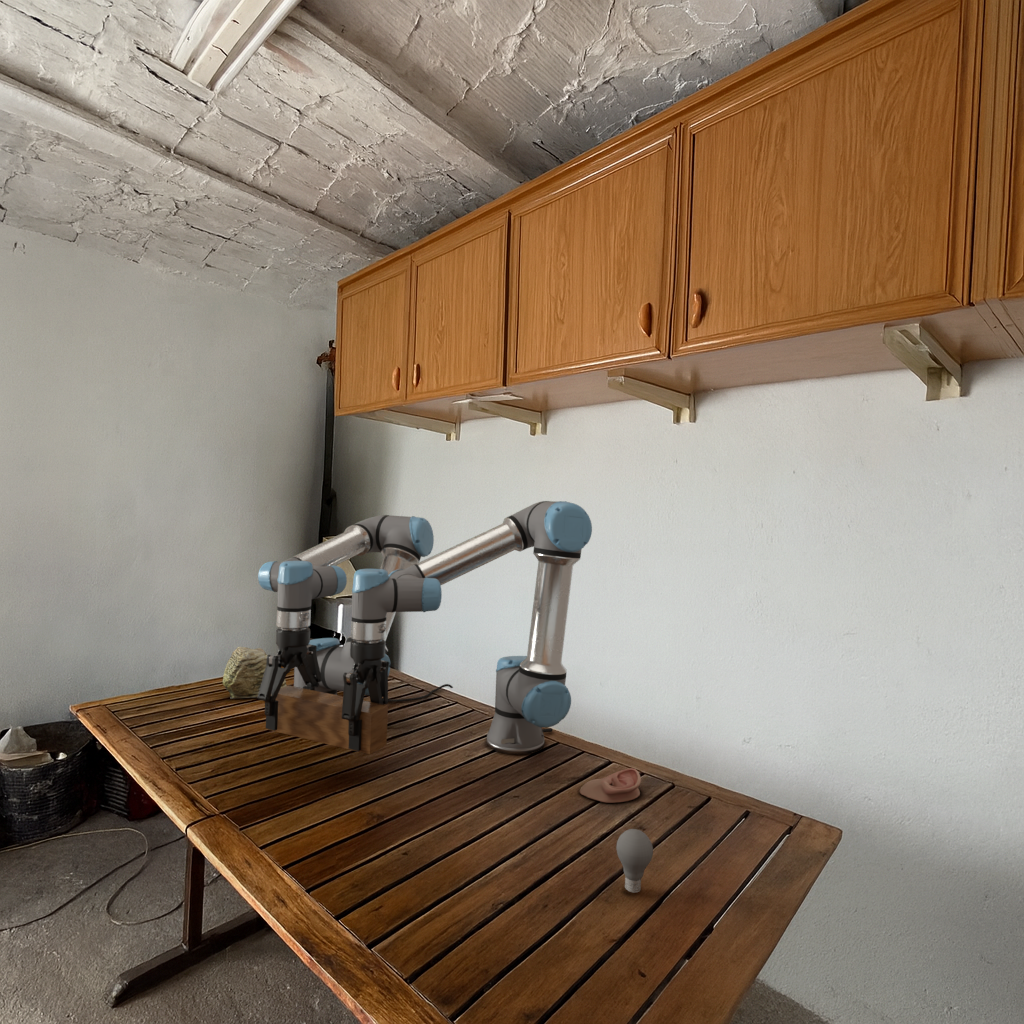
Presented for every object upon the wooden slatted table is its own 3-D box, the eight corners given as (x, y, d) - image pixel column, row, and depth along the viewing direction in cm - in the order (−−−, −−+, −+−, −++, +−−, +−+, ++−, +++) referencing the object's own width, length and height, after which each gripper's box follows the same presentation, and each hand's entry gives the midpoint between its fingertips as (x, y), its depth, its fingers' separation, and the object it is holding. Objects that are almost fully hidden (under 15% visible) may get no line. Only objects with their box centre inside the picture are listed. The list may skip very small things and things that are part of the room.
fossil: (218, 695, 195) (220, 647, 195) (278, 685, 208) (279, 640, 207) (228, 703, 189) (230, 653, 188) (289, 692, 201) (290, 645, 201)
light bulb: (610, 879, 108) (613, 822, 108) (644, 879, 109) (647, 822, 109) (619, 902, 102) (622, 840, 102) (655, 901, 103) (658, 840, 103)
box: (267, 729, 147) (269, 691, 147) (287, 721, 152) (288, 685, 152) (369, 754, 135) (371, 713, 135) (386, 744, 141) (388, 705, 141)
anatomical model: (578, 780, 137) (583, 760, 149) (577, 799, 137) (582, 776, 149) (641, 789, 135) (641, 767, 146) (640, 807, 135) (640, 784, 146)
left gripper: (267, 638, 135) (264, 740, 136) (339, 621, 157) (335, 709, 157) (241, 634, 138) (238, 734, 139) (315, 618, 160) (311, 704, 160)
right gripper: (354, 650, 129) (350, 763, 129) (406, 634, 146) (403, 733, 147) (325, 645, 132) (321, 755, 132) (379, 630, 149) (376, 727, 150)
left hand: (289, 721), depth 148 cm, fingers open, 11 cm apart
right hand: (364, 743), depth 140 cm, fingers closed on box, 6 cm apart
